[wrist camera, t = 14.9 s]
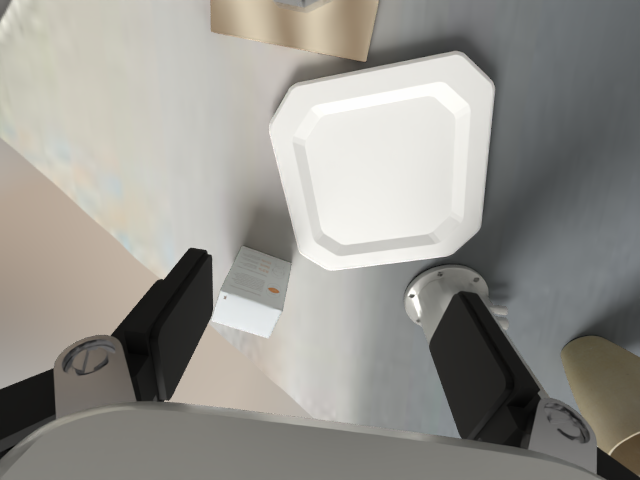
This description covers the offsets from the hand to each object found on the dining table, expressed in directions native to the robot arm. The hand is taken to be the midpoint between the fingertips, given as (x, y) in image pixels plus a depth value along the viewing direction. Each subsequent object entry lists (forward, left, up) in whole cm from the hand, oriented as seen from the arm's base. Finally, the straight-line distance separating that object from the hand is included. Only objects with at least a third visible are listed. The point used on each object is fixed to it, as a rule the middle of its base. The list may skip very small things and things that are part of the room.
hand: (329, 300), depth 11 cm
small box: (+7, +20, -29) cm, 36 cm away
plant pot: (-50, +27, -28) cm, 64 cm away
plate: (-7, +3, -29) cm, 30 cm away
